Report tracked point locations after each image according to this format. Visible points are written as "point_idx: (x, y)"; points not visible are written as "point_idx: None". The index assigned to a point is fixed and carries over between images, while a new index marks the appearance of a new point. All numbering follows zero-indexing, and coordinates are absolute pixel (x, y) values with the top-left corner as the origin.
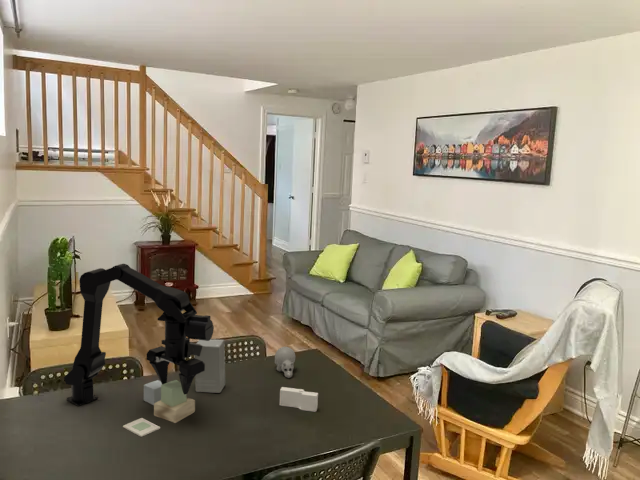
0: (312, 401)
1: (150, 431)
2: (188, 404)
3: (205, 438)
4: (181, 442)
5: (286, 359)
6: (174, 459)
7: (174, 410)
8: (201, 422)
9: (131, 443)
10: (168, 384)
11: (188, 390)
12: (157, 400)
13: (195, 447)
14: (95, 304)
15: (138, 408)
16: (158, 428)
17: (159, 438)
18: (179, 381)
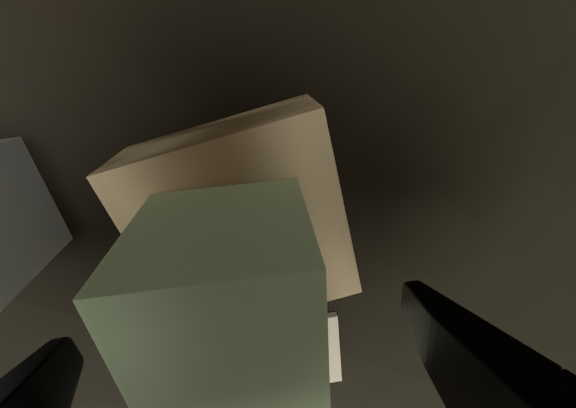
0: None
1: (339, 351)
2: (337, 181)
3: (562, 215)
4: (491, 297)
5: None
6: (542, 351)
7: (352, 293)
8: (443, 143)
9: (353, 403)
10: (182, 399)
11: (444, 298)
12: (46, 229)
13: (564, 277)
14: None
15: (73, 307)
16: (336, 320)
17: (399, 338)
18: (166, 289)
